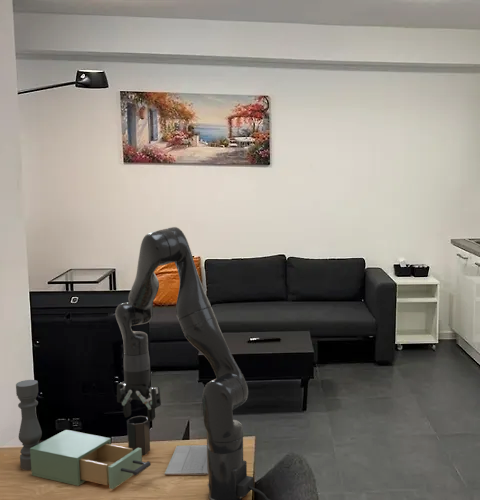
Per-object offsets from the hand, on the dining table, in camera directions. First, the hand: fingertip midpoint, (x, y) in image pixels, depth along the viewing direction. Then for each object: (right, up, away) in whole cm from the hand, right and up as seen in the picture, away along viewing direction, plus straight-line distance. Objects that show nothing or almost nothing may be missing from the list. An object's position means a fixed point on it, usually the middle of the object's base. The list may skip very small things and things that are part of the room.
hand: (139, 418), depth 197 cm
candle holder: (-29, -12, -7) cm, 32 cm away
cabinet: (-16, -12, -10) cm, 23 cm away
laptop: (+17, -12, -4) cm, 21 cm away
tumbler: (-1, -11, +1) cm, 11 cm away
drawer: (-3, -12, -15) cm, 19 cm away
